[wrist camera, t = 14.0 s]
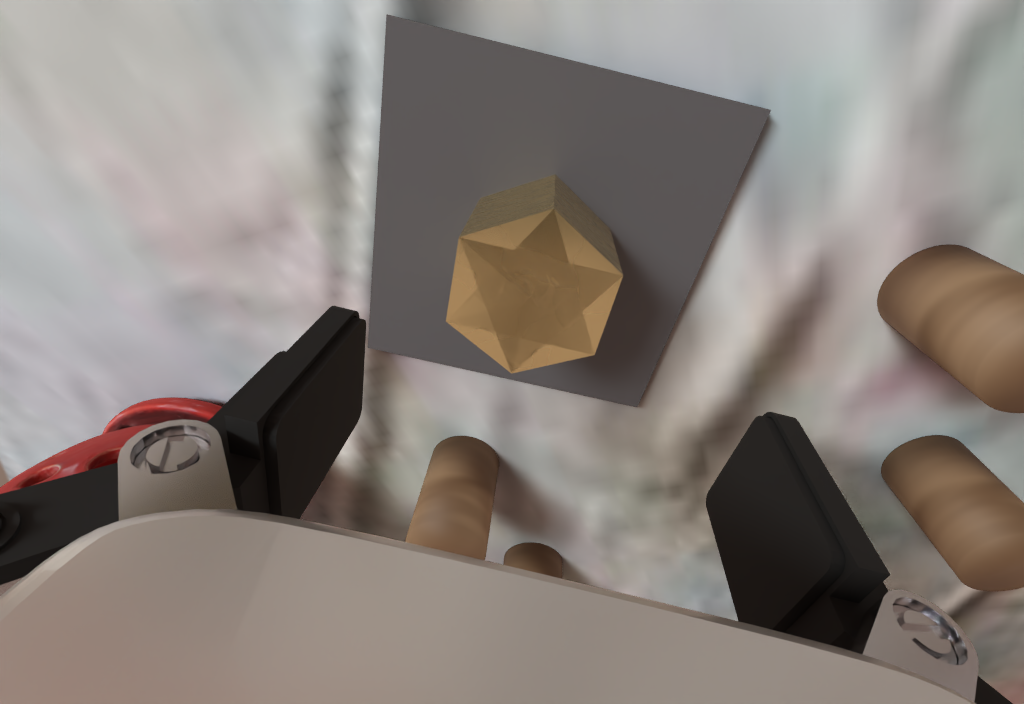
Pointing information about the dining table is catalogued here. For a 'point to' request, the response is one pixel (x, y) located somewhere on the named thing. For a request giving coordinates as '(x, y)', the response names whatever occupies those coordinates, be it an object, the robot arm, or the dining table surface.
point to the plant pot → (112, 439)
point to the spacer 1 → (456, 498)
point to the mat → (535, 155)
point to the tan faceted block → (534, 276)
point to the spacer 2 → (535, 559)
